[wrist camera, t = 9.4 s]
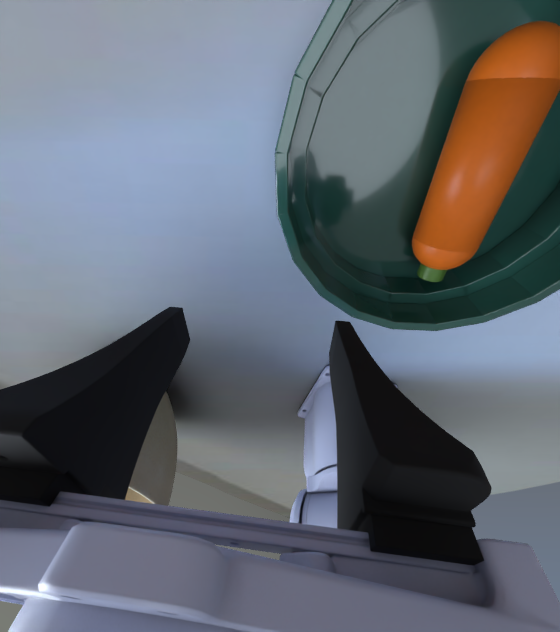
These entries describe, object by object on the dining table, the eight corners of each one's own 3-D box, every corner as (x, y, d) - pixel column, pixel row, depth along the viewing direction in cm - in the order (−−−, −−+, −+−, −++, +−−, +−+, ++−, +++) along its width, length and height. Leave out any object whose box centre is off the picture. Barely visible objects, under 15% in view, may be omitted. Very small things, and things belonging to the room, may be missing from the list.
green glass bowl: (457, 315, 22) (489, 359, 18) (256, 250, 20) (242, 283, 16) (731, 17, 11) (952, -34, 7) (363, -165, 10) (396, -353, 6)
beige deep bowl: (125, 431, 40) (66, 530, 31) (23, 347, 30) (-112, 455, 21) (230, 419, 35) (199, 534, 26) (149, 315, 25) (48, 438, 16)
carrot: (420, 259, 20) (470, 280, 17) (389, 271, 18) (440, 296, 16) (505, 36, 13) (609, 21, 10) (468, 22, 11) (582, 0, 9)
